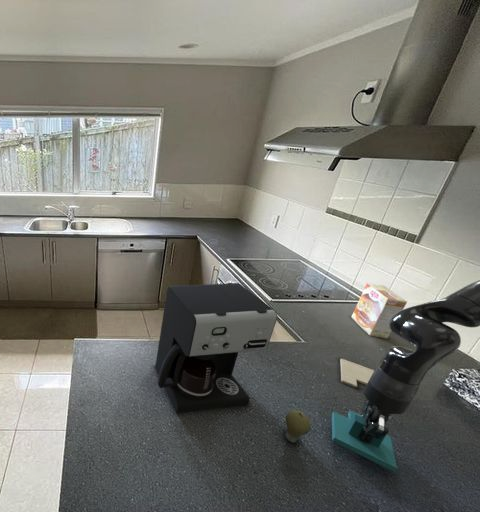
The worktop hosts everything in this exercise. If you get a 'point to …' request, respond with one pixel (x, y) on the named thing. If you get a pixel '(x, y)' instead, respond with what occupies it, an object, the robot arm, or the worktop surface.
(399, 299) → the coffeecake box
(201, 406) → the coffee maker
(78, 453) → the worktop surface
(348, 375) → the beige tile
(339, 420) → the teal tile
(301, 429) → the light bulb
